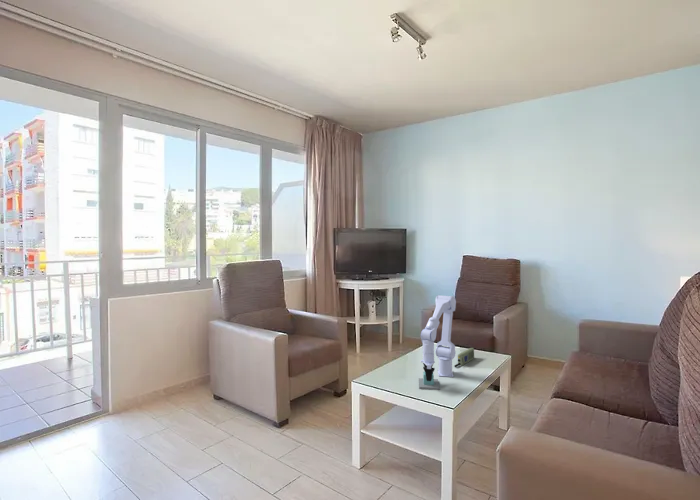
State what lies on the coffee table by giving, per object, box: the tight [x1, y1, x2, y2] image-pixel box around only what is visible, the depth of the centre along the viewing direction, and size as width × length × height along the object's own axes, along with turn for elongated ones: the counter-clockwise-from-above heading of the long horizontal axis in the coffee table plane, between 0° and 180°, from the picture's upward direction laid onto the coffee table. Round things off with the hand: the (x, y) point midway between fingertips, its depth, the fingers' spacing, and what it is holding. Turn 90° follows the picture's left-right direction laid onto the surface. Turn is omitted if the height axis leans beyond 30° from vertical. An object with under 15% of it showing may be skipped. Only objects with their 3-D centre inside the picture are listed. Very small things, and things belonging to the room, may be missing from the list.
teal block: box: [422, 371, 435, 385], centre depth 194 cm, size 5×5×5 cm
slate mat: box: [418, 378, 440, 391], centre depth 194 cm, size 12×10×1 cm
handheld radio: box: [454, 347, 475, 368], centre depth 229 cm, size 7×3×25 cm
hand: (428, 378), depth 194 cm, fingers open, 7 cm apart
